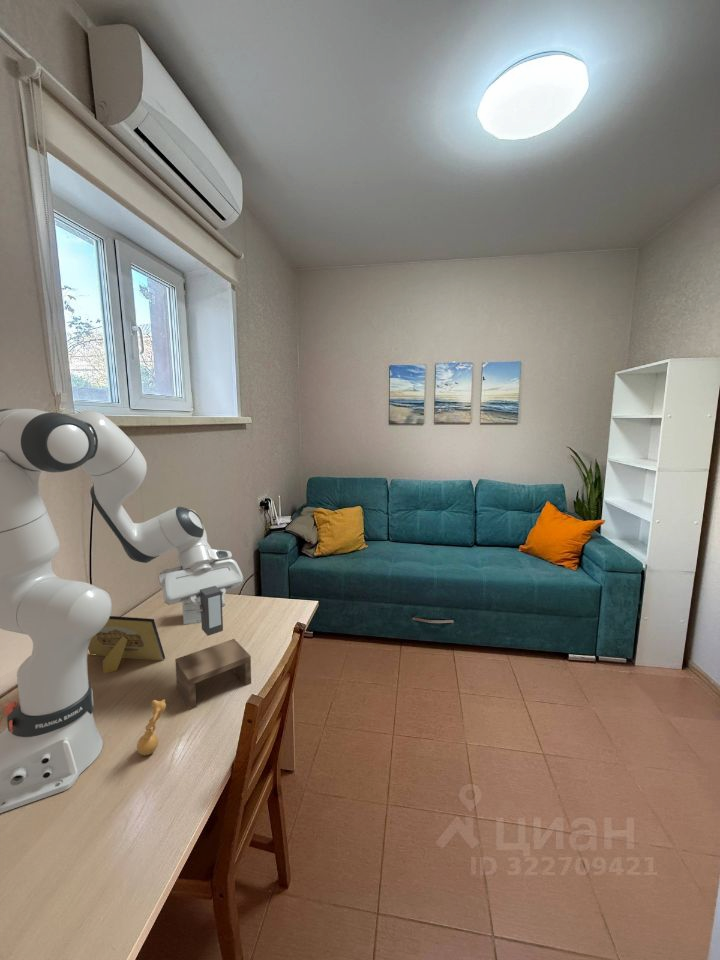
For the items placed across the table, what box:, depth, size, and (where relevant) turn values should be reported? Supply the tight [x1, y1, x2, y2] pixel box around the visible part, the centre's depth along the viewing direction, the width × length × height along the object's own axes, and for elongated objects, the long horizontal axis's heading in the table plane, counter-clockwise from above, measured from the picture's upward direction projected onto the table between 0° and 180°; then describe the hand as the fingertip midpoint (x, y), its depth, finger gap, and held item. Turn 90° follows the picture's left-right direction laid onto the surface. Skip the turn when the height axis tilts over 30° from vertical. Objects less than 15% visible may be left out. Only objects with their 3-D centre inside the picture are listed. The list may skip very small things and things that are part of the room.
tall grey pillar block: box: [200, 586, 224, 637], centre depth 103 cm, size 4×5×11 cm
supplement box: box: [181, 597, 202, 625], centre depth 140 cm, size 7×7×13 cm
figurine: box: [136, 699, 167, 756], centre depth 83 cm, size 8×6×12 cm
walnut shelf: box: [175, 638, 252, 710], centre depth 105 cm, size 16×11×8 cm
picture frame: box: [88, 615, 166, 674], centre depth 112 cm, size 23×9×15 cm, turn 84°
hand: (211, 609), depth 102 cm, fingers closed on tall grey pillar block, 4 cm apart
